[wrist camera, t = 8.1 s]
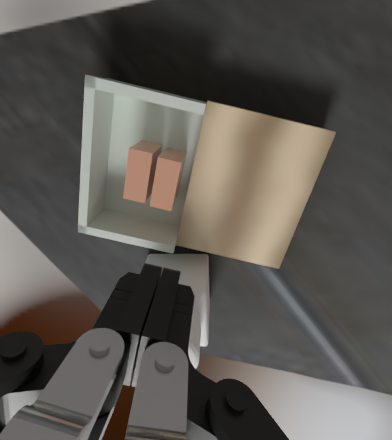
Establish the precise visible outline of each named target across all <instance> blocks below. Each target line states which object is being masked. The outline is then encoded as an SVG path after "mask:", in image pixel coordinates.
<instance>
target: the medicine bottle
mask: <svg viewBox="0 0 392 440" xmlns="http://www.w3.org/2000/svg"><path fill="white" fill-rule="evenodd" d="M145 263H147V264H152V265H156V266H160V267H162V271H163V268H164V267H165V268H169V269H173V270H178V271H181V273H180V278H179V282H178V284H182V285H186V286H191V289H192V291H193V294H194V296H195V297H194V305H193V313H192V322H191V330H190V338H189V346H188V355H189V359H190V361H191V363H192V365H193V366H194V368H195V369H196V368H197V366H198V363H199V354H200V346H207V345H208V334H209V307H210V293H209V258H208V255H207V254H149V255H148V256H147V259H146V261H145ZM145 263H144V264H145ZM141 271H142V270H141ZM161 274H162V273H161Z"/></svg>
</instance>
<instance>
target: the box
mask: <svg viewBox="0 0 392 440" xmlns="http://www.w3.org/2000/svg"><path fill="white" fill-rule="evenodd" d="M206 105H207V102H204V101H200V100H196V99H192V98H188V97H184V96H179V95H175V94H171V93H167V92H163V91H159V90H155V89H151V88H147V87H143V86H138V85H134V84H130V83H126V82H122V81H118V80H114V79H110V78H103V77H97V76H90V75H85V87H84V108H83V130H82V152H81V173H80V195H79V217H78V232H80V233H84V234H89V235H93V236H98V237H102V238H106V239H111V240H115V241H120V242H124V243H128V244H133V245H137V246H141V247H146V248H150V249H155V250H159V251H163V252H168V253H172V254H173V253H174V249H175V245H176V241H177V237H178V232H179V228H180V223H181V218H182V214H183V209H184V205H185V200H186V196H187V191H188V187H189V182H190V178H191V173H192V168H193V164H194V159H195V155H196V150H197V146H198V141H199V137H200V132H201V127H202V123H203V118H204V114H205V109H206ZM141 140H145V141H149V142H153V143H157V144H161V145H162V151H161V153H162V152H163V151H164V150H165V149H166V148H171V149H175V150H179V151H183V152H187V154H186V159H185V163H184V168H183V173H182V177H181V182H180V187H179V191H178V196H177V198H176V201H175V203H174V206H173V208H172V211H168V210H164V209H159V208H155V207H151V206H150V200H151V195H150V197H149V198H148V200H147V201H146V203H141V202H137V201H132V200H128V199H124V198H123V194H124V186H125V177H126V169H127V160H128V151H129V148H130V147H132V146H133V145H135V144H137V143H138V142H140V141H141Z"/></svg>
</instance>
